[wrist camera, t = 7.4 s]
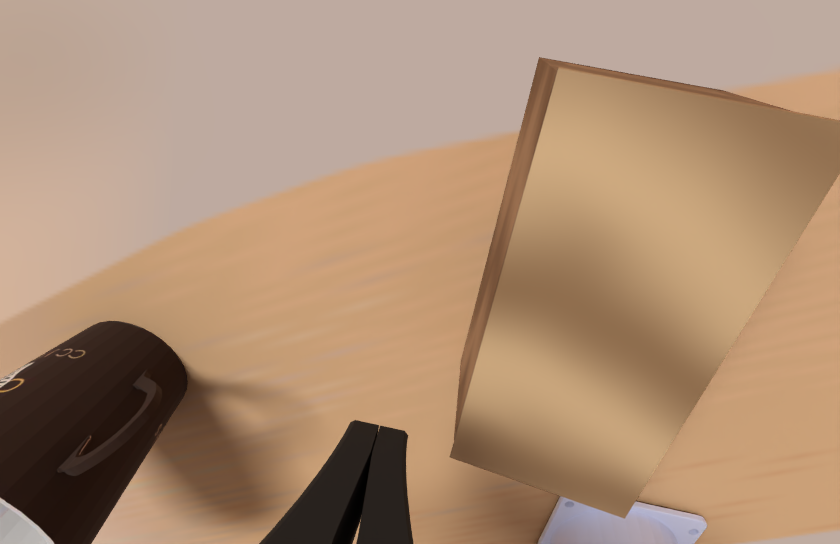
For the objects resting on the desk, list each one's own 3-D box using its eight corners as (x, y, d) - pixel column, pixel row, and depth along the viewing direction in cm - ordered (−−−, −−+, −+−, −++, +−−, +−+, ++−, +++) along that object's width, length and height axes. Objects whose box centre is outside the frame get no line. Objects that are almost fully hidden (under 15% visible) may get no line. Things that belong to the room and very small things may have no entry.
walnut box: (587, 387, 23) (610, 474, 18) (460, 361, 23) (453, 439, 19) (722, 90, 16) (809, 116, 12) (539, 57, 16) (556, 70, 12)
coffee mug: (100, 419, 29) (-66, 588, 21) (34, 304, 25) (-207, 453, 16) (271, 425, 27) (168, 614, 19) (229, 302, 23) (73, 469, 15)
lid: (623, 504, 17) (624, 518, 17) (452, 445, 19) (449, 457, 18) (853, 123, 10) (867, 127, 10) (559, 67, 12) (558, 68, 11)
